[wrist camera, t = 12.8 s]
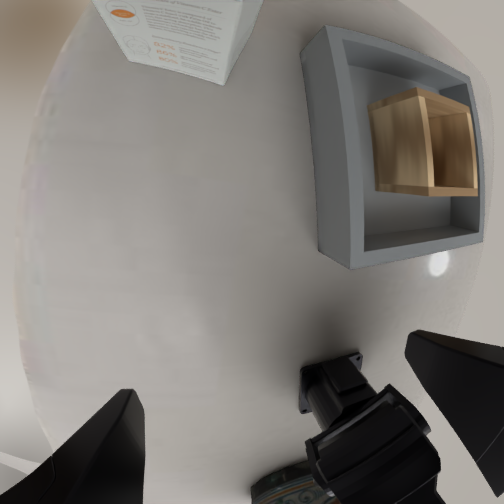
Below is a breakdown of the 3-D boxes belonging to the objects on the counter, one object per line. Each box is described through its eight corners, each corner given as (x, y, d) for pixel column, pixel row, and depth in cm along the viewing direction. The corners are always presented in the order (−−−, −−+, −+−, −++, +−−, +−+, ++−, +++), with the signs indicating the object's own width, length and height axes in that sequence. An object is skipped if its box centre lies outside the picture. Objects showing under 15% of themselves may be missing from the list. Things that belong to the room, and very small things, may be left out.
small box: (251, 35, 16) (291, -54, 6) (223, 89, 17) (247, 2, 7) (159, 11, 14) (144, -76, 4) (126, 62, 15) (78, -18, 5)
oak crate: (427, 190, 20) (477, 196, 15) (375, 191, 19) (428, 196, 14) (420, 115, 19) (469, 106, 13) (366, 105, 18) (416, 86, 12)
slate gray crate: (448, 232, 23) (482, 242, 18) (318, 251, 21) (350, 269, 16) (436, 85, 19) (469, 76, 14) (299, 53, 17) (325, 24, 12)
